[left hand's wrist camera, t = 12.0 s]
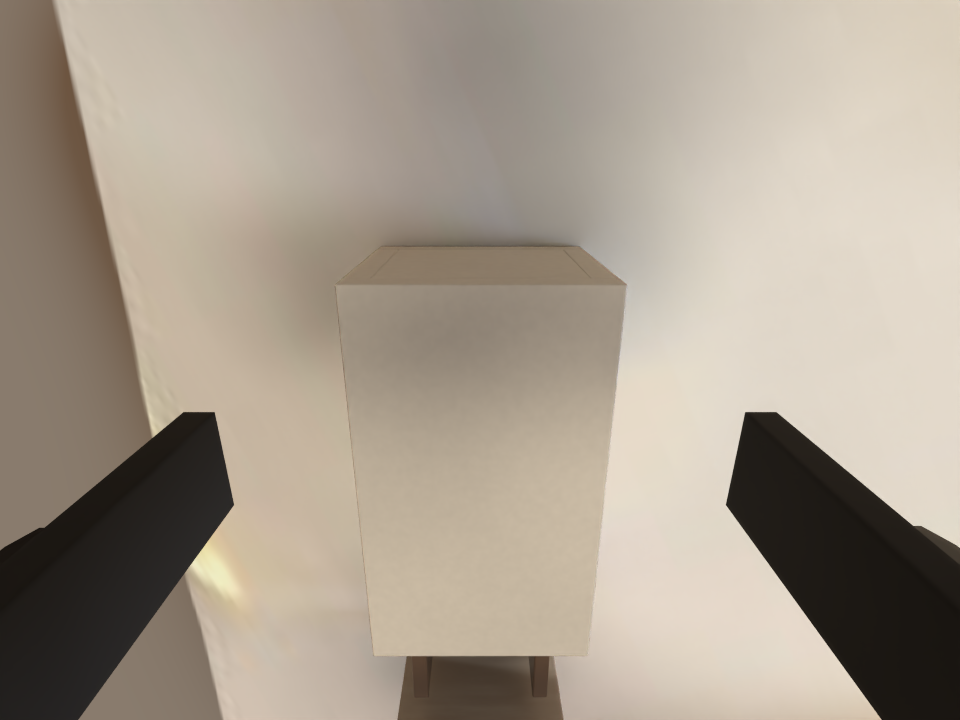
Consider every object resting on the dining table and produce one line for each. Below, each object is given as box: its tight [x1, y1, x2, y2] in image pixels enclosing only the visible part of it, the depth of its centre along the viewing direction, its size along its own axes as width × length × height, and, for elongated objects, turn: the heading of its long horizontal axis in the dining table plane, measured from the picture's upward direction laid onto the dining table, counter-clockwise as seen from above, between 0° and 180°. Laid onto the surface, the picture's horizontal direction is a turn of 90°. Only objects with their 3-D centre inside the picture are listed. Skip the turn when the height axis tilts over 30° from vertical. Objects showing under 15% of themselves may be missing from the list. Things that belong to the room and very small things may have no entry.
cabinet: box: [335, 247, 627, 656], centre depth 25 cm, size 18×10×9 cm, turn 0°
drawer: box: [398, 656, 563, 720], centre depth 29 cm, size 22×9×7 cm, turn 0°
